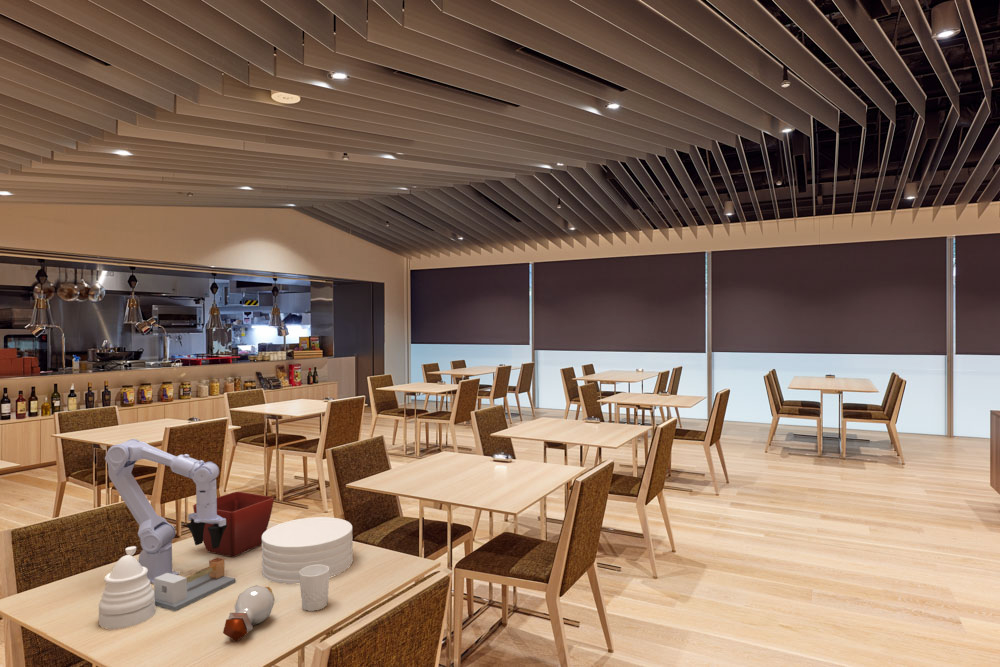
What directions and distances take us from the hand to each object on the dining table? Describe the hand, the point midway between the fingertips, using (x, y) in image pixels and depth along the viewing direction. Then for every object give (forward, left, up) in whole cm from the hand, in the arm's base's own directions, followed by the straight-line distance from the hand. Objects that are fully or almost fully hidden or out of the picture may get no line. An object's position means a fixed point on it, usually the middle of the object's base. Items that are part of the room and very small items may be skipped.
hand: (207, 545), depth 187 cm
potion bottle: (+38, -18, -10) cm, 43 cm away
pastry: (+29, -7, -10) cm, 32 cm away
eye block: (+6, -10, -9) cm, 15 cm away
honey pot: (+3, -28, -10) cm, 29 cm away
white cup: (+45, -2, -10) cm, 46 cm away
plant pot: (-11, +20, -10) cm, 25 cm away
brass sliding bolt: (+6, -6, -8) cm, 12 cm away
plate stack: (+23, +19, -10) cm, 32 cm away
